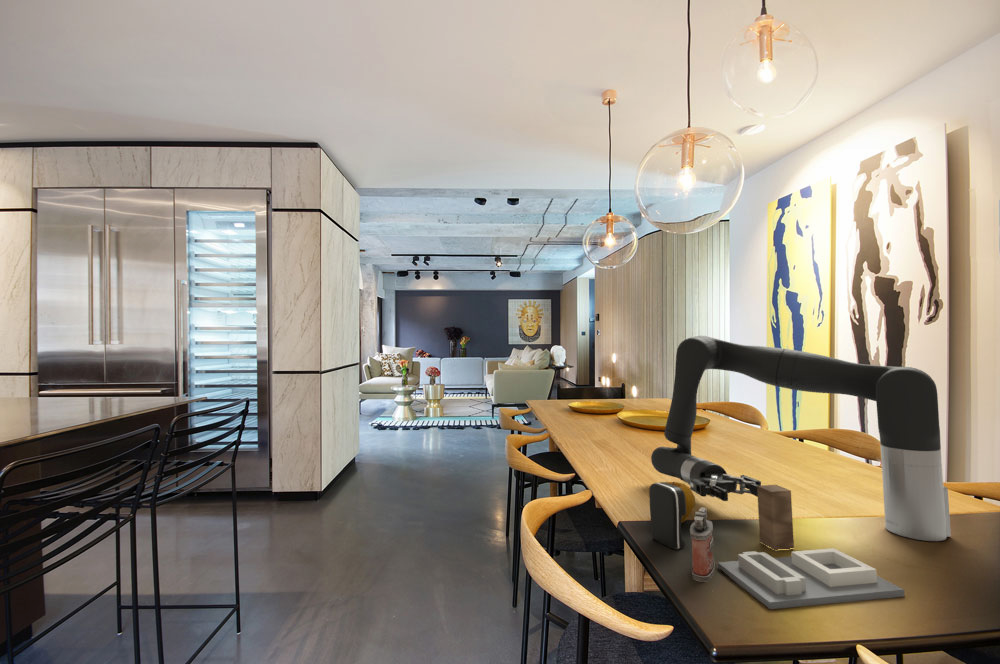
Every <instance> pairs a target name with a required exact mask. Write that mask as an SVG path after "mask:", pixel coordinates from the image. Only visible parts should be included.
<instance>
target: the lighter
mask: <svg viewBox="0 0 1000 664" xmlns="http://www.w3.org/2000/svg"><path fill="white" fill-rule="evenodd" d="M707 518H708V509H707V508H706V507H700V508H699V510H698V511H695V513H694V517H693V519H694V522H692V523H691V525H690V528H689V533H690V534H689V535H690V538H691V553H692V565H691V578H692V579H693V580H695V581H697V582H700V583H701V582H702V583H707V582H709V581H710V580H711V579H712V578H713V576H714V575H715V571H714V570H716V569H715V567H716V566H715V560H714V551H713V550H714V546H715V545H714V544H715V543H714V536H713V532H714V526H713V522H712V521H711V520H708V519H707Z"/></svg>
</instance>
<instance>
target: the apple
mask: <svg viewBox="0 0 1000 664" xmlns="http://www.w3.org/2000/svg"><path fill="white" fill-rule="evenodd" d="M664 482H665V483H669V484H672V485H675V486H677V487H679V488H681V489H682V490H683V491H684V494H685V500H686V515H683V516H682V520H681V524H682V523H684V522H685V521H686V520H687V519H688V518H689V517H690V515H691V514H692V513H693V511H694V509H695V506H696V496H695V495H694V493H693V491H692V490H691V489H690V487H689V486H687V485H686V484H685V483H682V482H678V481H664Z"/></svg>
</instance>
